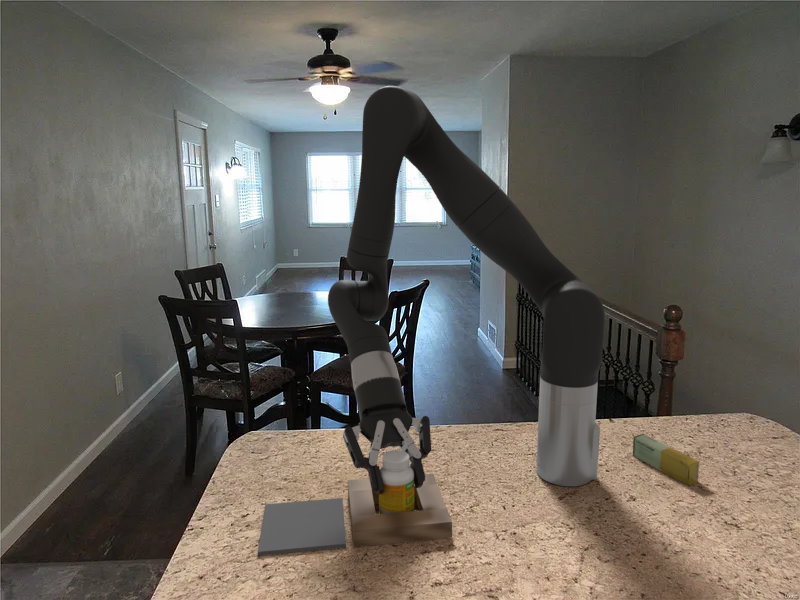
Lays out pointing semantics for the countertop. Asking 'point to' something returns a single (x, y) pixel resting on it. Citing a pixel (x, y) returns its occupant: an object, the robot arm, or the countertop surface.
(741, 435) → the countertop surface
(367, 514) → the walnut socket
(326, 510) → the rubber mat
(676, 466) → the medication box
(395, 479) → the supplement bottle
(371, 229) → the robot arm
